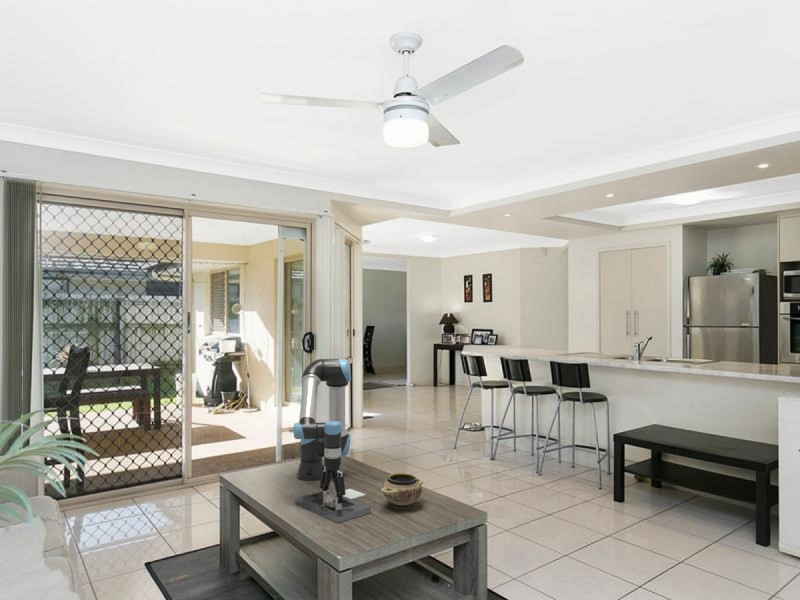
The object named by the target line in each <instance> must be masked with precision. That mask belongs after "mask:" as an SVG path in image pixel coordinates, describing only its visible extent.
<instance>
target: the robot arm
mask: <svg viewBox="0 0 800 600" xmlns="http://www.w3.org/2000/svg"><path fill="white" fill-rule="evenodd" d="M351 375H352V374H351V368H350V362H349V360H348V359H347V358H346V359H344V358H318V359H315V360H313V361H311V363H309V364H308V365H307V366H306V367H305V368H304V371H303V372H302V376H301V379H300V380H301V384H302V392H301V401H300V408H299V409H300V411H299V420H298V422H294V425H293V438H294V439H295V440H300V443H299V444H300V457H299V461H300V463H299V466H298V468H297V469H298V470H297V472H296V478H297V479H298V480H301V481H318V480H320V482H319V489H322V491H323V496H324V497H325V496H326V495H327V492H328V493H329V491H330V488H329V487H330V484H331V481H332V482H333V485H334V488H335V492H336V493H337V496H336V507H335V511H336V510H339V509H342V507H343V505H342V496H343V495H345V494H346V493H345V490H346V484H345V472H344V471H340V470H341V469H340V467H341V465H342V457H346V456H348V455H349V452H350V446H351V438H352V437H351V433H349V430H348V429H347V428H346V387H347V386H349V382H351V381H352V376H351ZM321 382H325V385H326V386H327V387H328V421H326V422H324V421H323V422H316V419H317V417H316V415H317V414H316V413H317V404H318V403H317V402H318V391H319V390H318V389H319V385H320V384H321ZM324 503H325V500H324V498H323V503H322V506H323V507H326V506H327V505H326V504H324Z"/></svg>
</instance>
